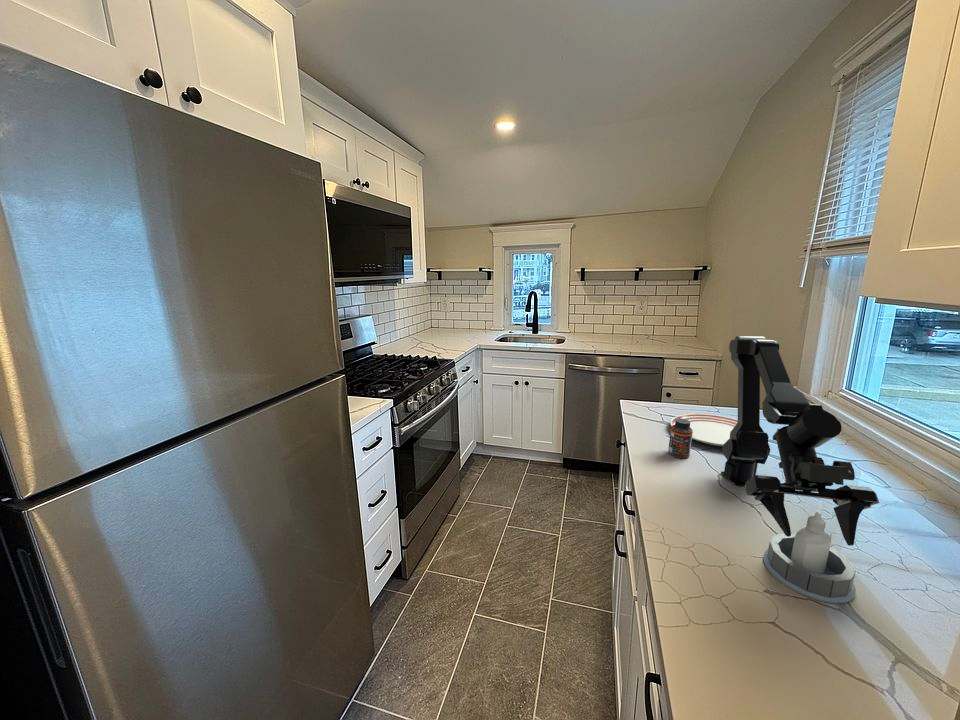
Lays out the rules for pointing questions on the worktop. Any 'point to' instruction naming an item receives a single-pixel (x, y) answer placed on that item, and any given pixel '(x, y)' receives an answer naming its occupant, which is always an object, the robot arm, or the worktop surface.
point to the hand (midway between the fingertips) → (819, 540)
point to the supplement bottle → (680, 439)
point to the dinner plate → (709, 427)
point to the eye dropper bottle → (812, 545)
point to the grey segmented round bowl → (811, 573)
